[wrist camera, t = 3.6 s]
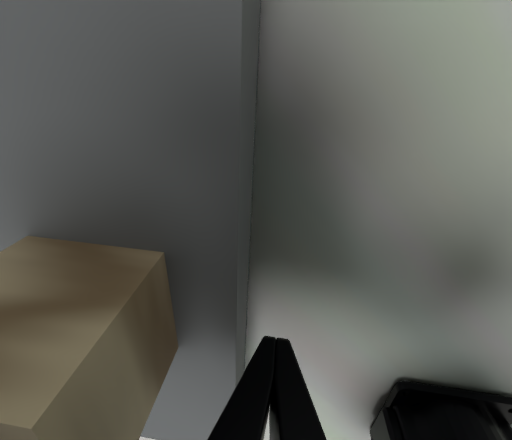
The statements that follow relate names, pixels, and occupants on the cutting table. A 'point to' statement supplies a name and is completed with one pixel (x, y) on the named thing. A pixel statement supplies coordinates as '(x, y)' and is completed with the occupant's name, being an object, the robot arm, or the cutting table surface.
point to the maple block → (82, 339)
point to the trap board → (142, 162)
